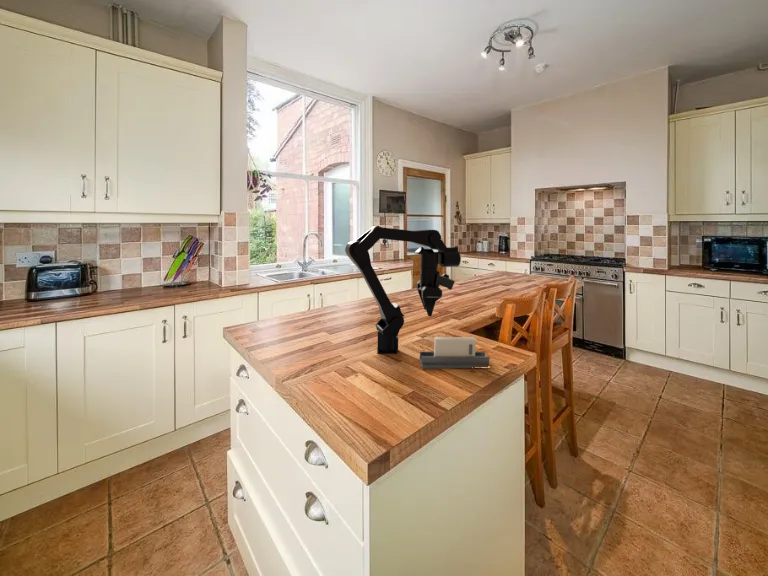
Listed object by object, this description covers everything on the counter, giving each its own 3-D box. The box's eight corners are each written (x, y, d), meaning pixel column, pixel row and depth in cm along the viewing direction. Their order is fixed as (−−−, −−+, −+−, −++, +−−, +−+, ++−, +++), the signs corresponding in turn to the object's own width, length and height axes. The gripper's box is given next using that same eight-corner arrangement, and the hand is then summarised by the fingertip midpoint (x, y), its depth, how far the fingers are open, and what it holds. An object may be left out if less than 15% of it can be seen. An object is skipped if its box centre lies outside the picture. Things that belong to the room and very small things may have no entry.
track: (422, 368, 104) (422, 358, 104) (419, 358, 112) (419, 349, 112) (490, 368, 104) (491, 359, 104) (482, 359, 112) (483, 349, 112)
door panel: (435, 362, 106) (436, 339, 105) (433, 359, 109) (434, 337, 108) (475, 362, 107) (476, 340, 106) (472, 359, 110) (473, 337, 108)
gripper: (459, 270, 110) (457, 319, 113) (447, 264, 129) (446, 307, 131) (423, 270, 110) (422, 319, 113) (417, 264, 129) (416, 307, 131)
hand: (427, 312), depth 122 cm, fingers open, 9 cm apart
